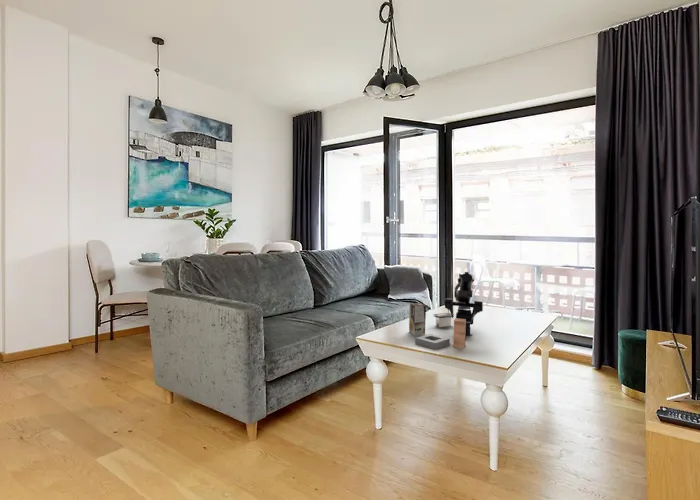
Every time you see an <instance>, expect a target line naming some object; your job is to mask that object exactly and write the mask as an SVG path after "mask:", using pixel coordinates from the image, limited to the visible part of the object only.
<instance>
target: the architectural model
mask: <svg viewBox="0 0 700 500" xmlns="http://www.w3.org/2000/svg"><path fill="white" fill-rule="evenodd" d="M454 315H455V314H454V313H453V318H454V317H455V316H454ZM432 316H433V317H435V327H439V328H440V327H441V328H442V327H451V326H452V316H451V312H450V310H448V309H447V312H444V313H433V314H432Z"/></svg>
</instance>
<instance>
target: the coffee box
mask: <svg viewBox="0 0 700 500" xmlns="http://www.w3.org/2000/svg"><path fill="white" fill-rule="evenodd" d="M426 311H427V305H425V304H423V303H421V302H413V303H411V302H410V303H409V314H408V315H409V316H408V317H409V320H408V322H409V323H408V327H409V328H408V332H409V333H410V334H412V336H414V337H420V336H423V335H426V314H427V312H426Z"/></svg>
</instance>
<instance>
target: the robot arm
mask: <svg viewBox="0 0 700 500" xmlns="http://www.w3.org/2000/svg"><path fill="white" fill-rule="evenodd" d="M474 282H475V278H474V276H473V275H472V273H470V272H469V271H464V273H459V274H458V275H457V284H456V286H455V287H454V295H453V297H454V298H455V301H454V299H453V298H447V297H446V298H445V299H444V300H443V301H444V308H445V309H446V310H447V311H448V310H449V313H451V316H452V317H451V319H454V317H453V316H454V315H453V314H454V307H457V312H456V313H455V318H459V319H466V332H465V337H468V336H469V337H470V336H473V334H472V333H471V325H474V319H475V317H476V315H477V314H478V313H481V312H483V310H484V303H483V301H482V300H474V303H472V302H470V301H471V298H473V290H472V286H473V283H474ZM471 308H472V309H471Z"/></svg>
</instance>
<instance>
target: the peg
mask: <svg viewBox="0 0 700 500" xmlns="http://www.w3.org/2000/svg"><path fill="white" fill-rule="evenodd" d="M465 332H466V319H459V318H456V317H455V318H454V320H453V336H452V337H453V341H452V343H453V345H452V346H453V348H459V349H465V346H466V336H465Z"/></svg>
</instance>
